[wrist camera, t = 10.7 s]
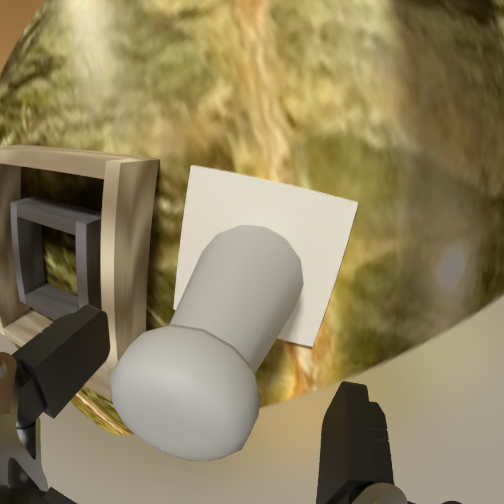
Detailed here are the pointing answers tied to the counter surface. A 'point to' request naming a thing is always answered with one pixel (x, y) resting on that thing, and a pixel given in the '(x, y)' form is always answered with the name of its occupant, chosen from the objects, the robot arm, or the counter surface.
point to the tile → (279, 221)
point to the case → (77, 246)
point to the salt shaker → (211, 348)
